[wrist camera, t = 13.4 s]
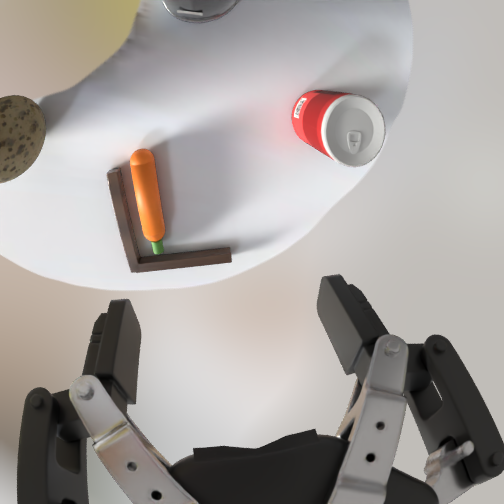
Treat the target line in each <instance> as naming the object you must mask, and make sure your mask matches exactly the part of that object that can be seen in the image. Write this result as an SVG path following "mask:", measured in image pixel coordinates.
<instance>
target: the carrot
mask: <svg viewBox="0 0 504 504" xmlns="http://www.w3.org/2000/svg"><path fill="white" fill-rule="evenodd" d="M130 167H131V173H132V179H133V184H134V190H135V195H136V200H137V205H138V210H139V215H140V220H141V224H142V229H143V233H144V236H145V237H146V238H147V239H148V240H150V241H151V244H152V248H153V252H154V254H161V253H163V251H164V248H163V243H162V239H161V238H162V237H163V236H164V234H165V224H164V219H163V213H162V207H161V201H160V195H159V188H158V181H157V174H156V167H155V159H154V156H153V154H152V152H150V151H149V150H147V149H139V150H137V151H135V152H134V153H133V154H132V156H131V158H130Z"/></svg>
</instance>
